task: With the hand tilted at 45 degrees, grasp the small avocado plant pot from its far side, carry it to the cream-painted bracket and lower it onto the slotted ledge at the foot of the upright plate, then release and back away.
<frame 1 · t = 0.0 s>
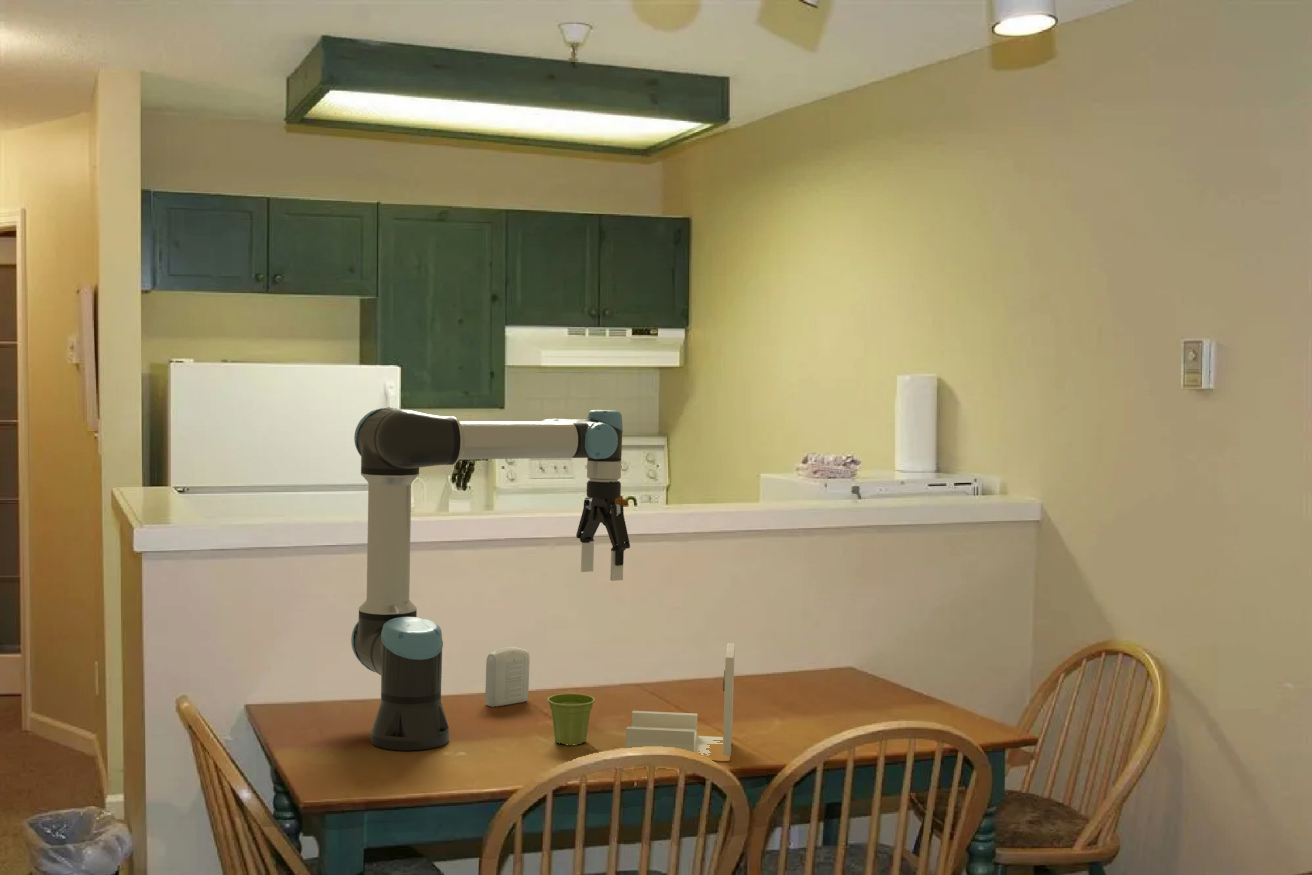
hand: (601, 575, 311), 28 cm above the table, tool pointing down, fingers open, 13 cm apart
plant pot: (570, 743, 279), on the table
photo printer: (506, 704, 309), on the table
bracket shelf: (662, 748, 276), on the table
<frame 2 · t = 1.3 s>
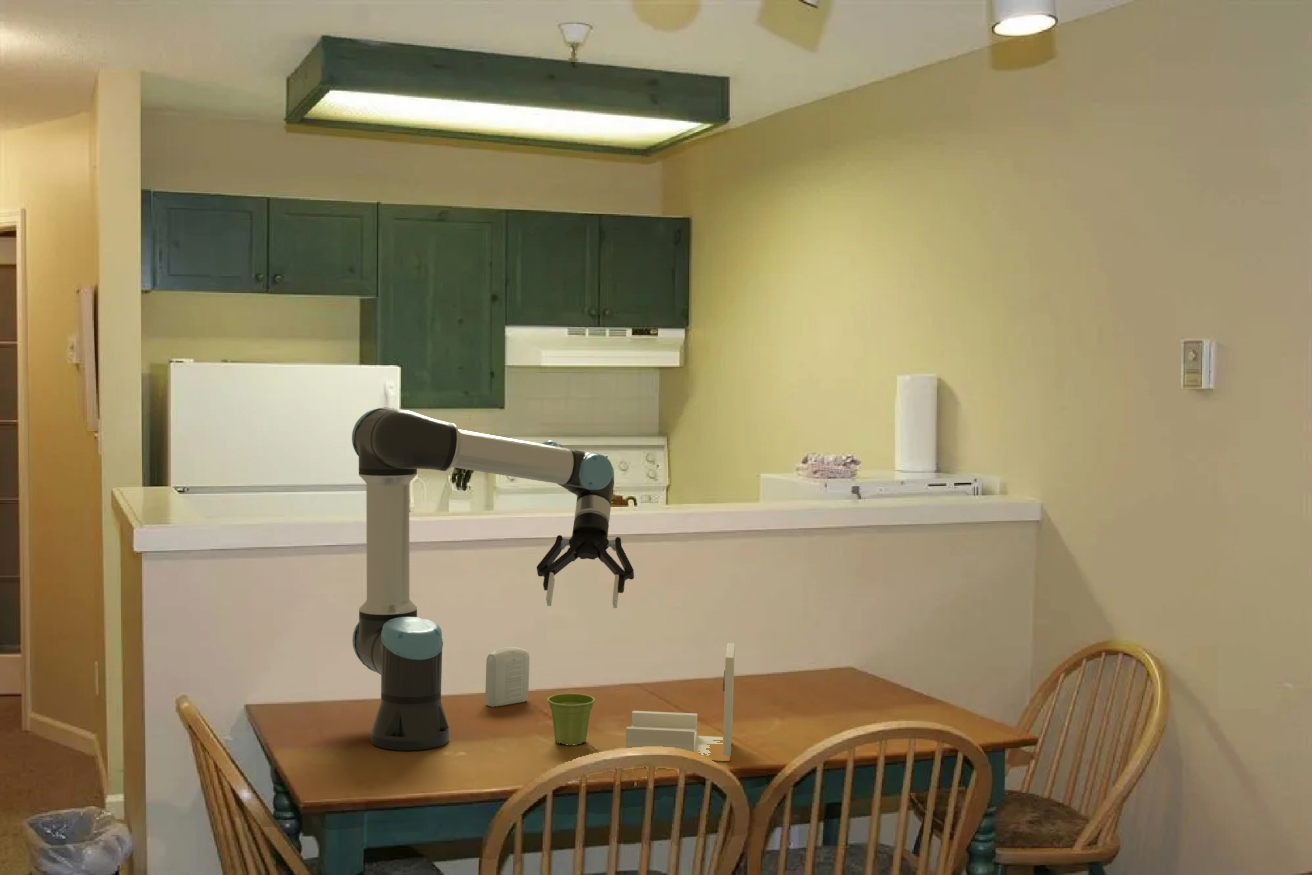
hand: (581, 603, 288), 26 cm above the table, tool tilted 45°, fingers open, 13 cm apart
nothing on the table moved.
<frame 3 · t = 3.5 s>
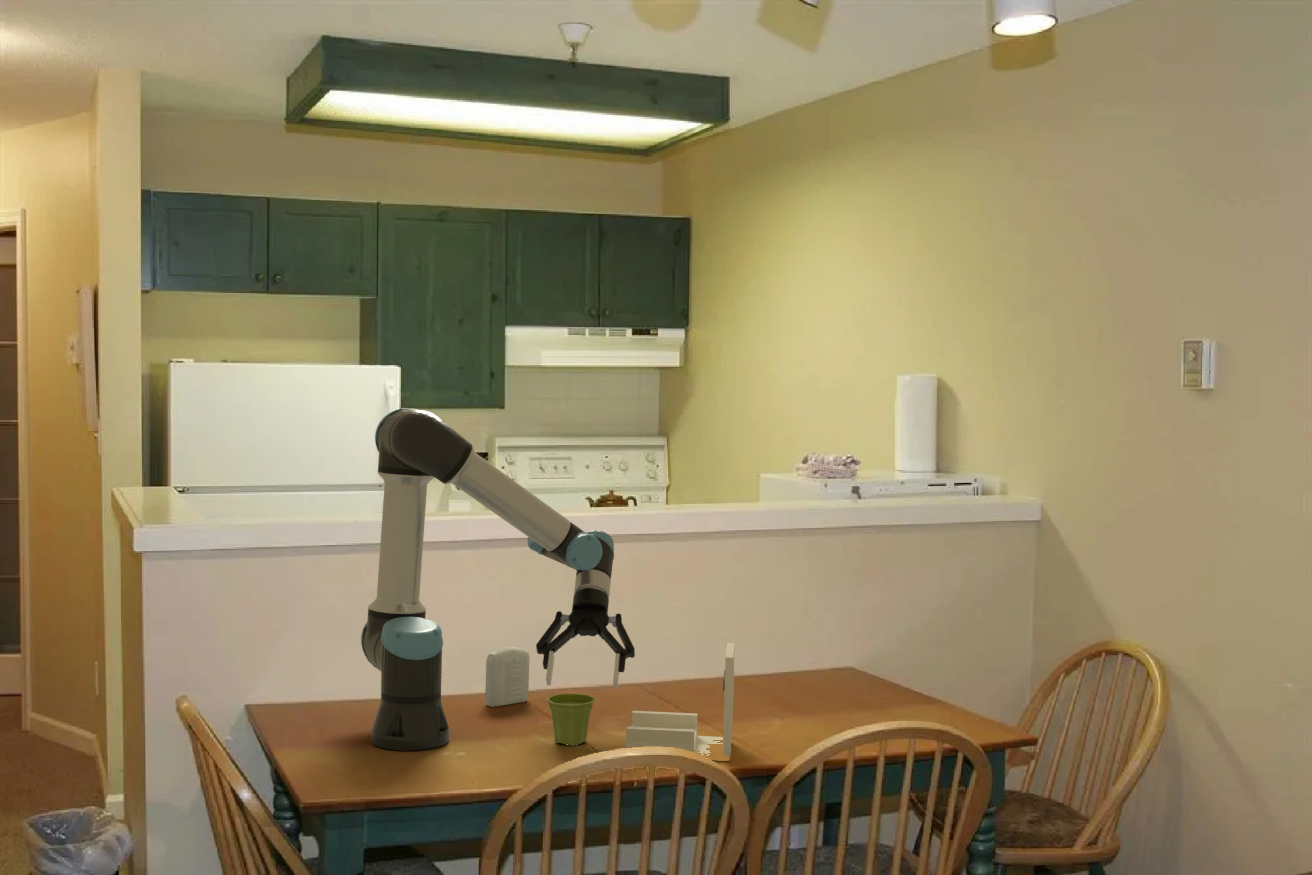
hand: (581, 683, 284), 10 cm above the table, tool tilted 45°, fingers open, 13 cm apart
nothing on the table moved.
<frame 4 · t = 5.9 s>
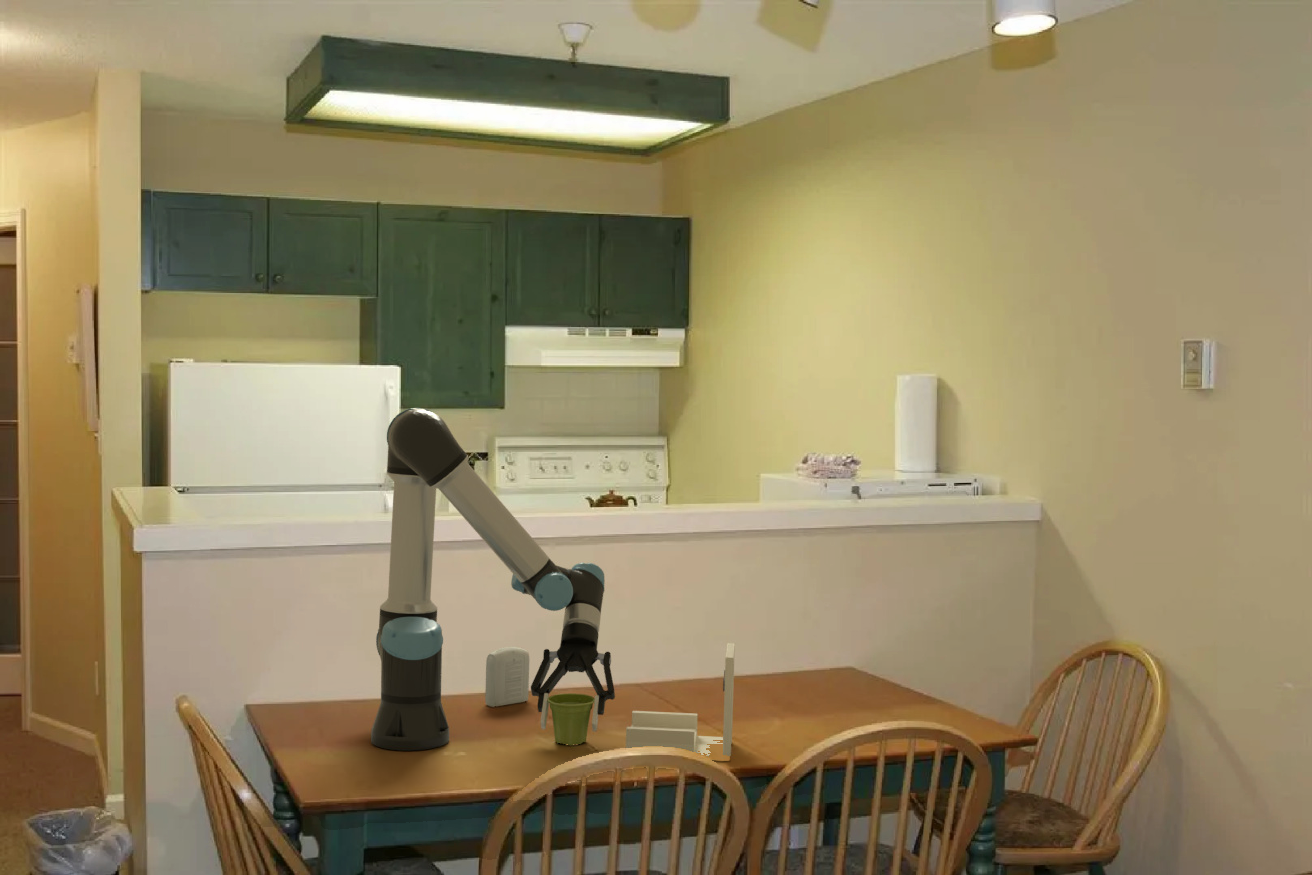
hand: (568, 726, 275), 4 cm above the table, tool tilted 45°, fingers closed on plant pot, 9 cm apart
plant pot: (570, 742, 279), on the table, touching gripper
everything else where it was.
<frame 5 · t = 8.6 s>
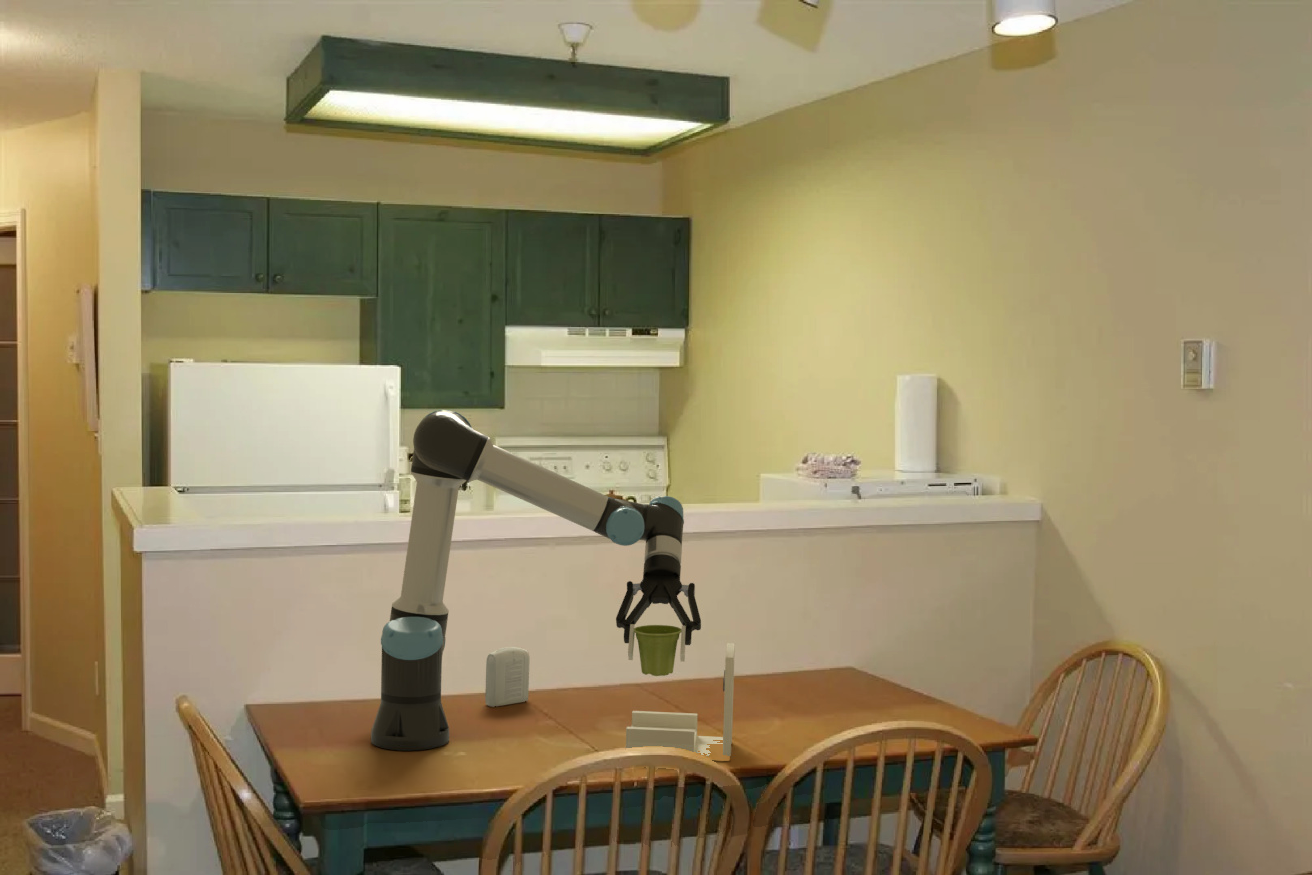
hand: (656, 656, 272), 19 cm above the table, tool tilted 45°, fingers closed on plant pot, 9 cm apart
plant pot: (656, 674, 276), point 15 cm above the table, touching gripper
everything else where it was.
when the fingers open (8 cm above the table, at t = 11.1 s): plant pot drops 1 cm, resting on bracket shelf.
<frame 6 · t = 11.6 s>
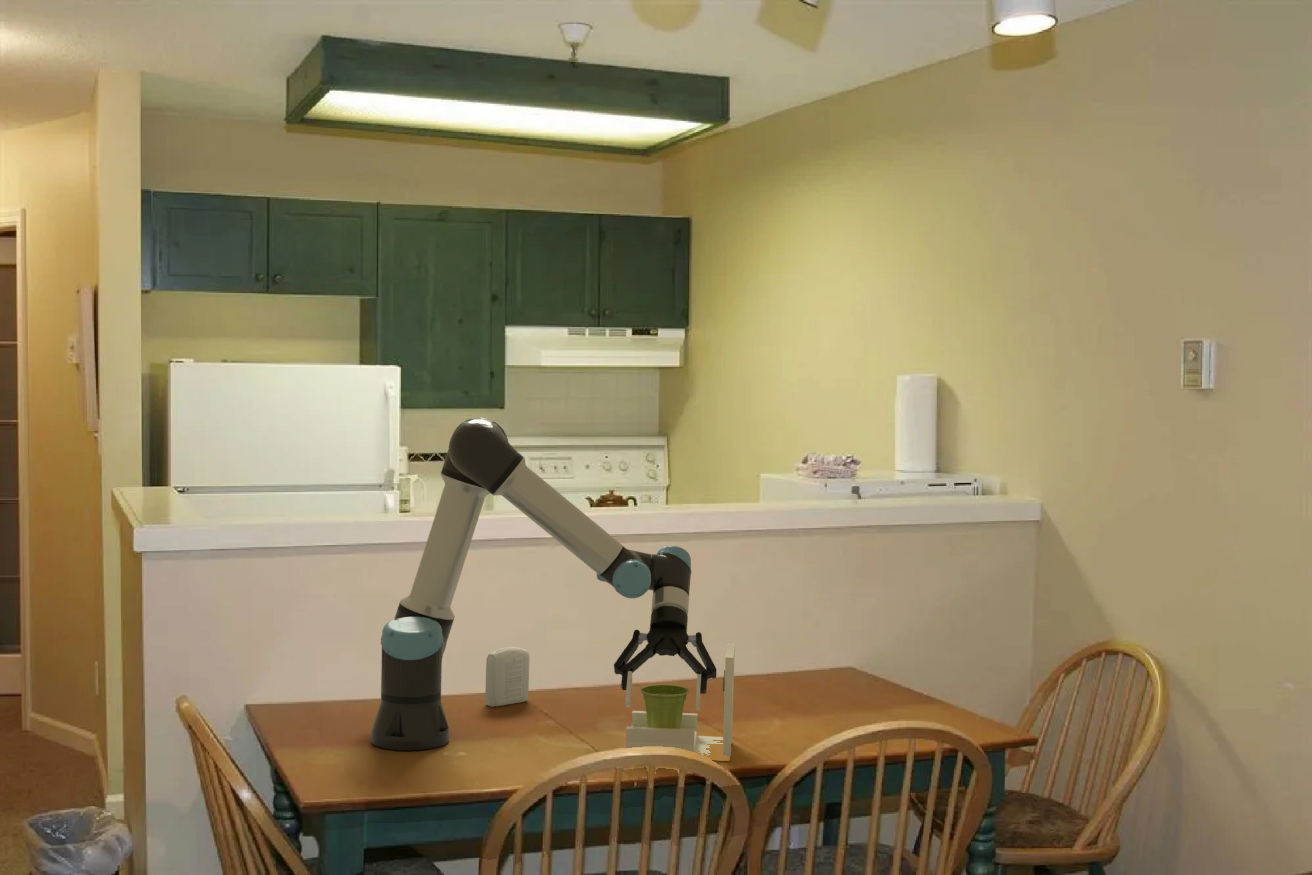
hand: (662, 705, 273), 9 cm above the table, tool tilted 45°, fingers open, 13 cm apart
plant pot: (663, 734, 275), point 3 cm above the table, touching bracket shelf
everything else where it was.
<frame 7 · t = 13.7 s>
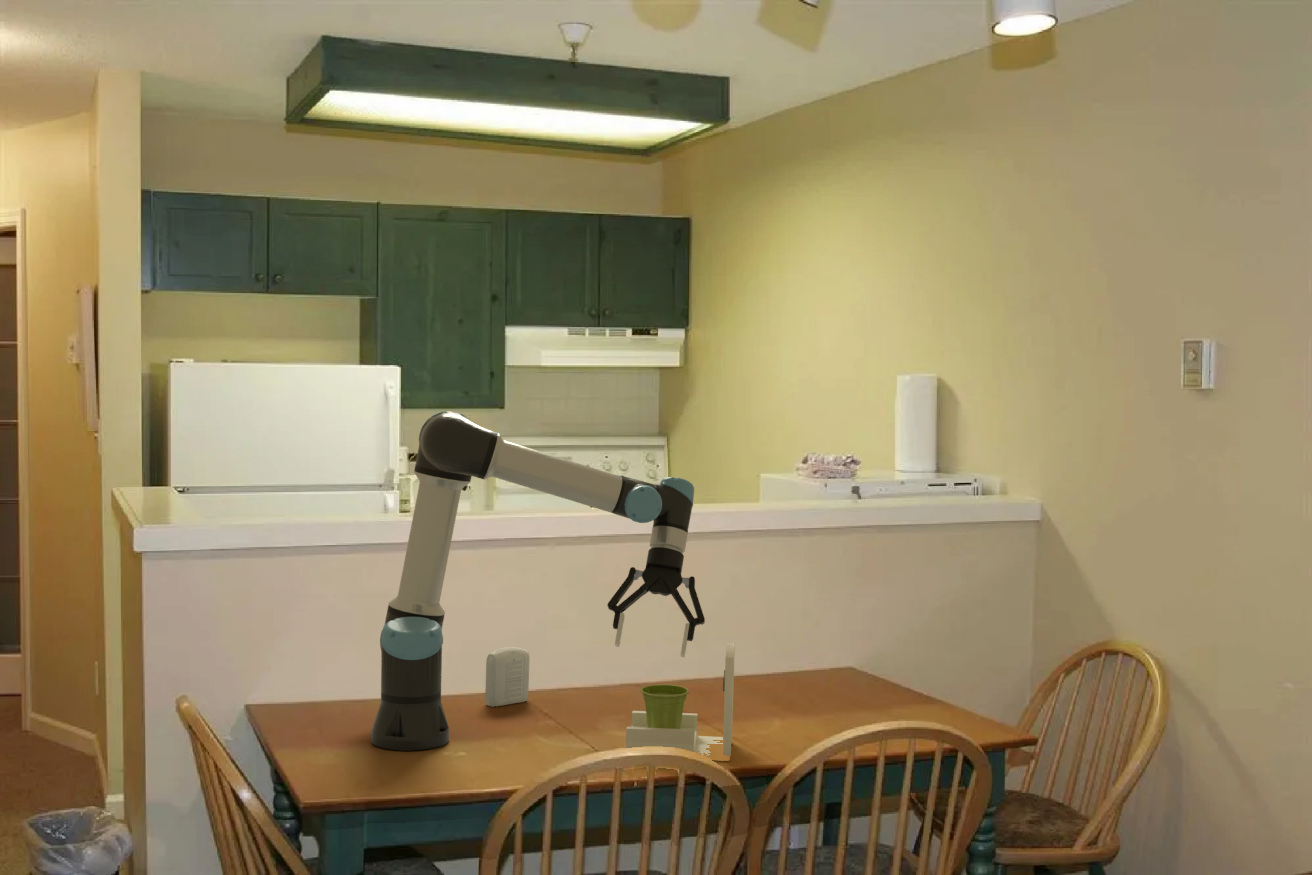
hand: (649, 650, 288), 17 cm above the table, tool tilted 25°, fingers open, 13 cm apart
nothing on the table moved.
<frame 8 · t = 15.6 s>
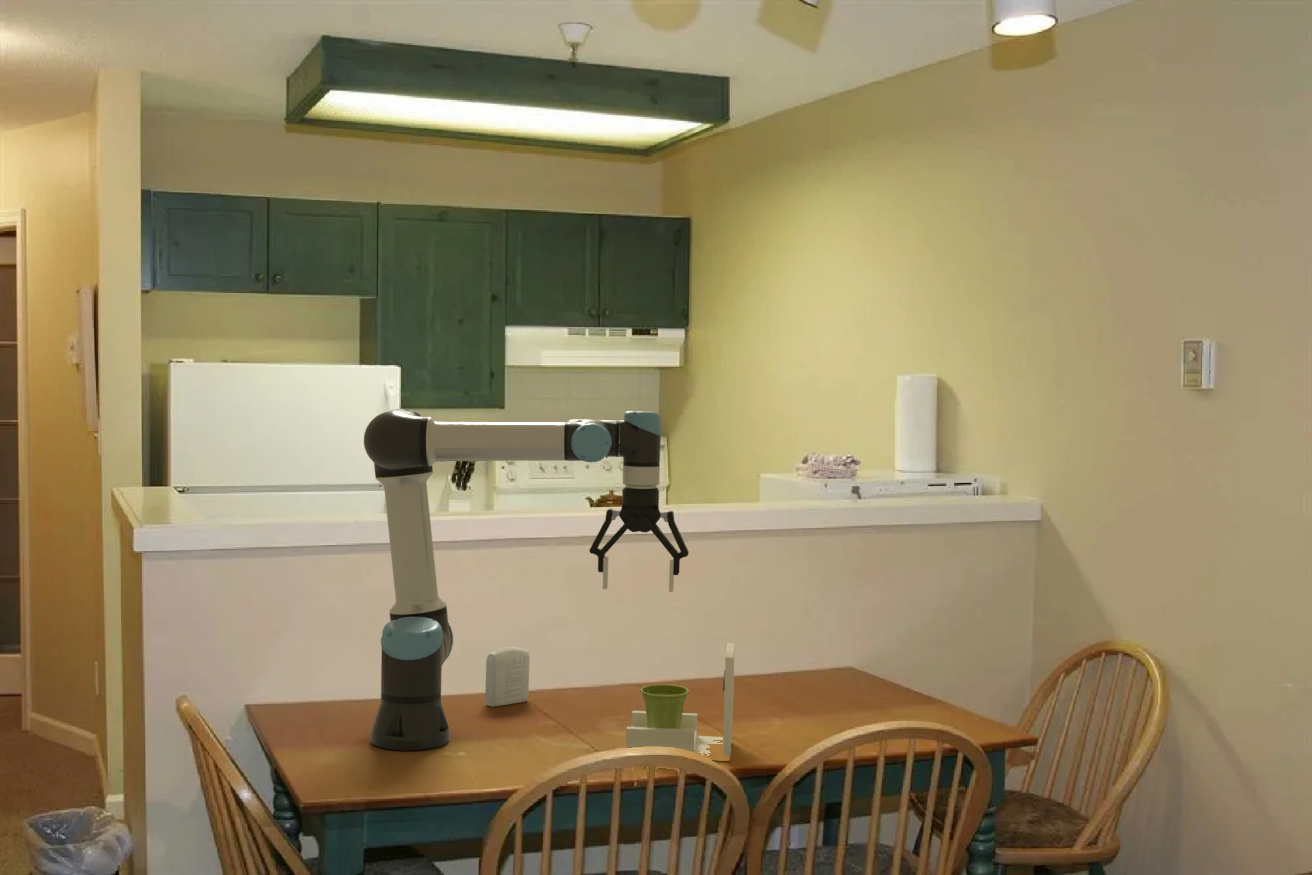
hand: (638, 589, 289), 29 cm above the table, tool pointing down, fingers open, 13 cm apart
nothing on the table moved.
at the end: plant pot inside the target area on the bracket shelf (0.2 cm from its centre), point 2.8 cm above the bracket shelf's base; plant pot tilted 0°; the gripper is holding nothing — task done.
